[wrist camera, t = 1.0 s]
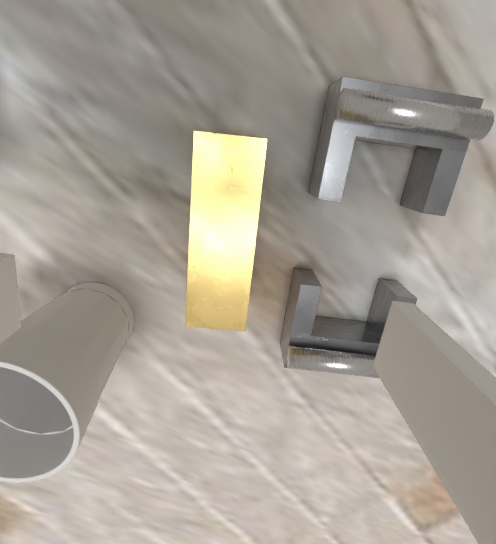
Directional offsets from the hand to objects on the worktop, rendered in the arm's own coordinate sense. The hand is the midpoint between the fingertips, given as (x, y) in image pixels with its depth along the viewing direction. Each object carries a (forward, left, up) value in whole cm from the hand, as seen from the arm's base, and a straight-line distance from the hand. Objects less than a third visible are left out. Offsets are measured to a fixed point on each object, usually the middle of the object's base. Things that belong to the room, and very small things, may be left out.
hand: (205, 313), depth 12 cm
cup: (+9, -10, -15) cm, 20 cm away
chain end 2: (+6, +10, -15) cm, 19 cm away
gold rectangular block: (0, 0, -15) cm, 15 cm away
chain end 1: (-7, +10, -15) cm, 19 cm away
